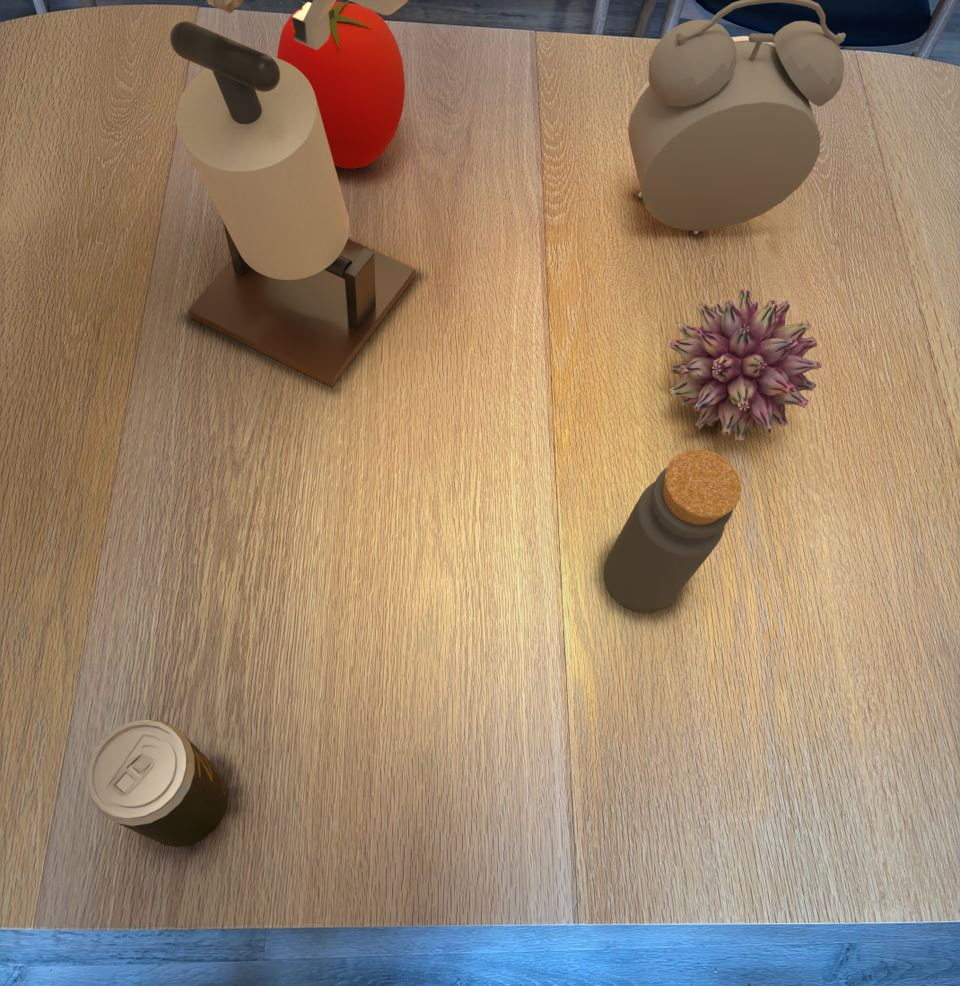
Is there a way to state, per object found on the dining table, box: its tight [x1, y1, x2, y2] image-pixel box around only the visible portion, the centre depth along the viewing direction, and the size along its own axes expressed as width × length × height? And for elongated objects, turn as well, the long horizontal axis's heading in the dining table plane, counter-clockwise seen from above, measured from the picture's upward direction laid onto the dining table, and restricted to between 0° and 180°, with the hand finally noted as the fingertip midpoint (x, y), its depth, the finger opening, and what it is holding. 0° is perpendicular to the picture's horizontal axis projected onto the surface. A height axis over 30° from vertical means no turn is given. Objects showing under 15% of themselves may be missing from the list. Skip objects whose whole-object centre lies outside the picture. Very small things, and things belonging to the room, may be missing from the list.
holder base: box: [187, 219, 416, 388], centre depth 72 cm, size 14×14×8 cm
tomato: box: [276, 0, 406, 170], centre depth 78 cm, size 13×11×14 cm
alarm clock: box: [626, 0, 847, 235], centre depth 74 cm, size 16×9×22 cm, turn 97°
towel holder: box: [169, 21, 352, 280], centre depth 60 cm, size 22×9×9 cm
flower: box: [668, 288, 822, 442], centre depth 68 cm, size 12×12×12 cm
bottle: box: [603, 448, 742, 613], centre depth 58 cm, size 6×6×15 cm
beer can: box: [86, 719, 229, 848], centre depth 49 cm, size 5×5×12 cm
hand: (269, 22), depth 53 cm, fingers open, 5 cm apart
